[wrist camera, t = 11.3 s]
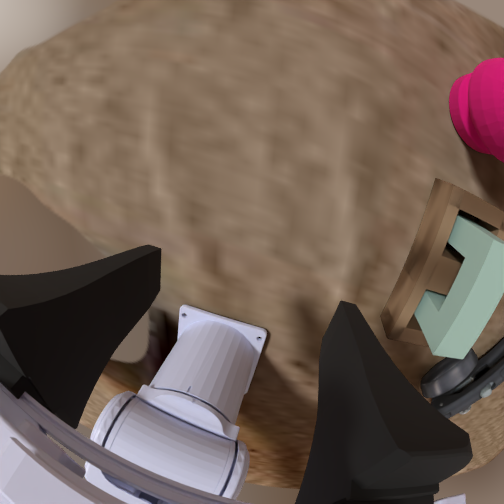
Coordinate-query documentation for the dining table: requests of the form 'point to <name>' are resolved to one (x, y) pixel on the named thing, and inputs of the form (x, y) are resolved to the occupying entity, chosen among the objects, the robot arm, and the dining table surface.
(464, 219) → the mint green foam block
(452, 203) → the brown wooden frame
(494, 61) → the pepper mill
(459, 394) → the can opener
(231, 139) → the dining table surface
